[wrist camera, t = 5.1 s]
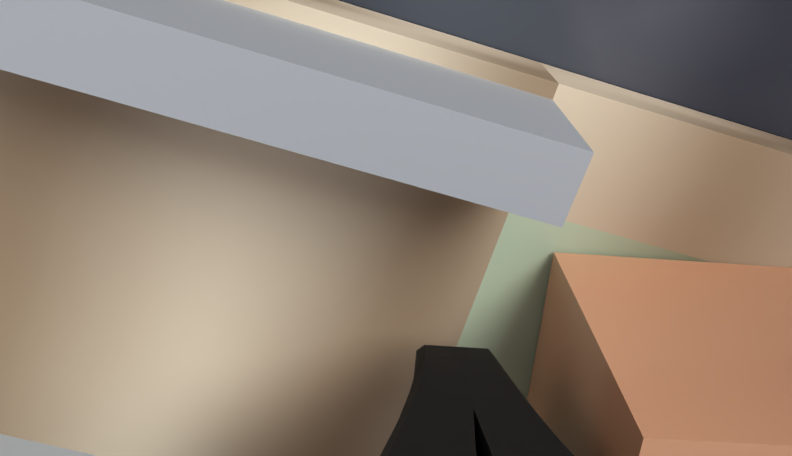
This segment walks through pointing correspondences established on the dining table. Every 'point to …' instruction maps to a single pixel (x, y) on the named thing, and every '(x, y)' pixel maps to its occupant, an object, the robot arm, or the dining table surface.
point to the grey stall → (302, 101)
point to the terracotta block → (665, 357)
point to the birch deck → (317, 256)
